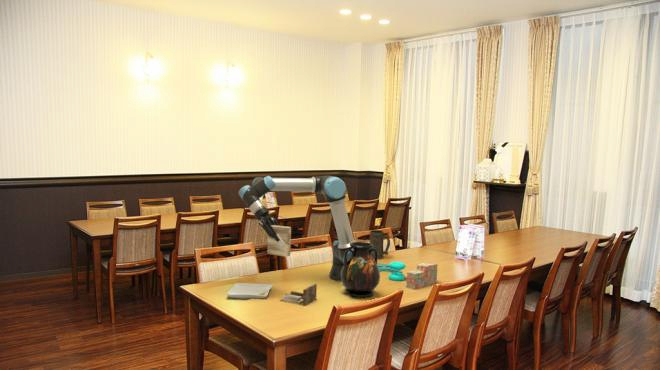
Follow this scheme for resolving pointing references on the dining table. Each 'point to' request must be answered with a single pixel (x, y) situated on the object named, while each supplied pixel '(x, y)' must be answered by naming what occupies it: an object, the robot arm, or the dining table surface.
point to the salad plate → (249, 290)
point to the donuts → (397, 275)
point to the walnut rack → (306, 295)
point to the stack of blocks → (422, 276)
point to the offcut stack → (293, 299)
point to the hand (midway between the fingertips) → (285, 244)
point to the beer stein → (378, 243)
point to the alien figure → (386, 268)
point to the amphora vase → (360, 271)
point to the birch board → (273, 244)
